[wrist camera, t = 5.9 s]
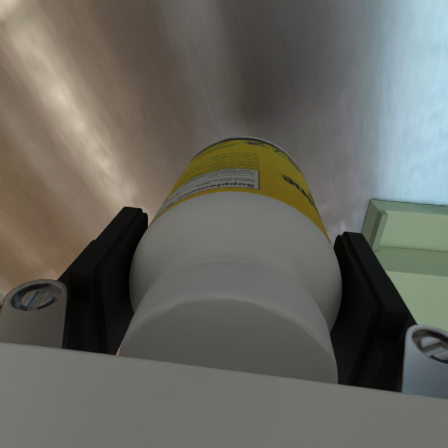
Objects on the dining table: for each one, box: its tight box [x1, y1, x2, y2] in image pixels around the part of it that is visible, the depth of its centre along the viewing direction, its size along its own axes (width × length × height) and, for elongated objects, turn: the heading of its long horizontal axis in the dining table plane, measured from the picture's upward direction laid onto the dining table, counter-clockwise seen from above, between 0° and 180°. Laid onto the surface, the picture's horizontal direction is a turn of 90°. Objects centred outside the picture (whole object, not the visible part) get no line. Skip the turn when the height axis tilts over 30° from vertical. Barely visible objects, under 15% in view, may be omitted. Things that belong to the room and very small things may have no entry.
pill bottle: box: [119, 136, 342, 384], centre depth 12 cm, size 6×6×11 cm
